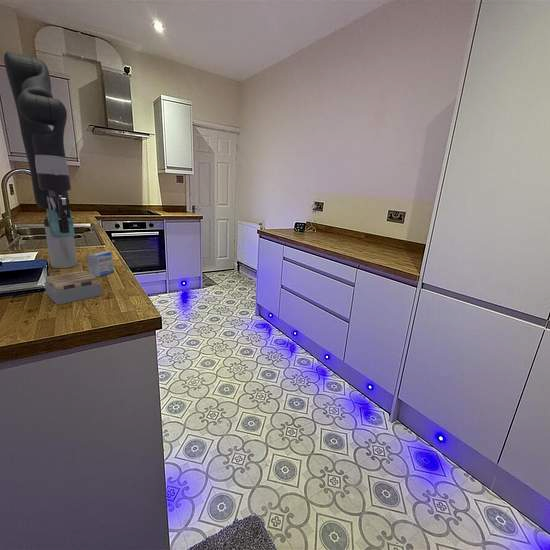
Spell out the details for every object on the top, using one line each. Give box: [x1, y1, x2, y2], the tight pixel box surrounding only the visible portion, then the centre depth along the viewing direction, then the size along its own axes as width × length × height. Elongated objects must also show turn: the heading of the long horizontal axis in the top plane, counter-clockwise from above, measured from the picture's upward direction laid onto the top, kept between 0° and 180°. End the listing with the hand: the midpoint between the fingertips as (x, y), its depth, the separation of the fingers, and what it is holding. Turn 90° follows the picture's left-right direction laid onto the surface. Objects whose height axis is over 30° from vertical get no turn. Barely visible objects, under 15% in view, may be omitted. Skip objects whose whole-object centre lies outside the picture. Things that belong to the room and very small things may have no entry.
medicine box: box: [87, 250, 115, 278], centre depth 114 cm, size 8×4×9 cm, turn 168°
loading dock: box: [44, 281, 103, 306], centre depth 92 cm, size 12×12×4 cm
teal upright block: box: [45, 209, 76, 238], centre depth 87 cm, size 5×5×8 cm
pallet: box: [45, 270, 98, 291], centre depth 91 cm, size 11×11×2 cm
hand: (62, 231), depth 88 cm, fingers closed on teal upright block, 5 cm apart
